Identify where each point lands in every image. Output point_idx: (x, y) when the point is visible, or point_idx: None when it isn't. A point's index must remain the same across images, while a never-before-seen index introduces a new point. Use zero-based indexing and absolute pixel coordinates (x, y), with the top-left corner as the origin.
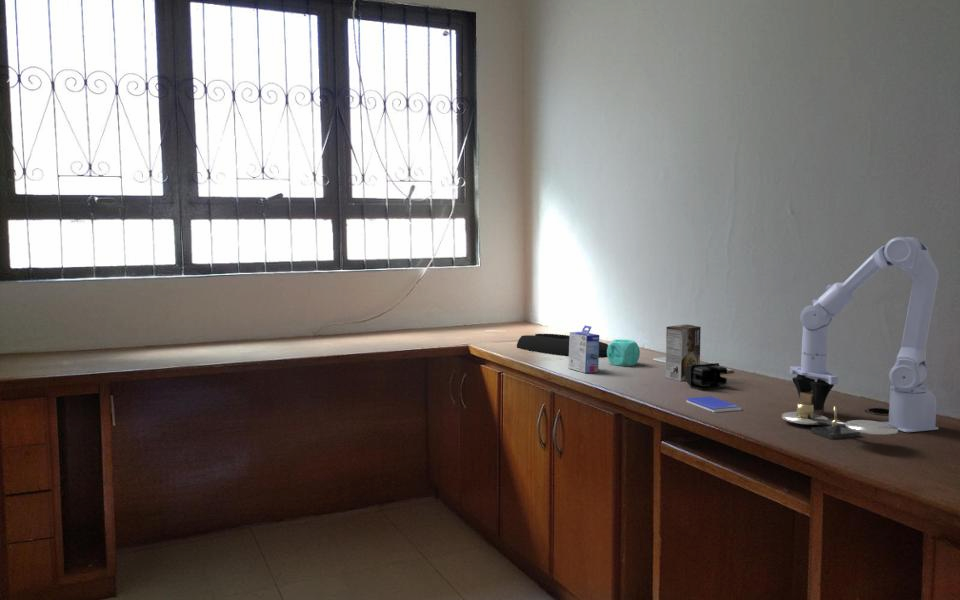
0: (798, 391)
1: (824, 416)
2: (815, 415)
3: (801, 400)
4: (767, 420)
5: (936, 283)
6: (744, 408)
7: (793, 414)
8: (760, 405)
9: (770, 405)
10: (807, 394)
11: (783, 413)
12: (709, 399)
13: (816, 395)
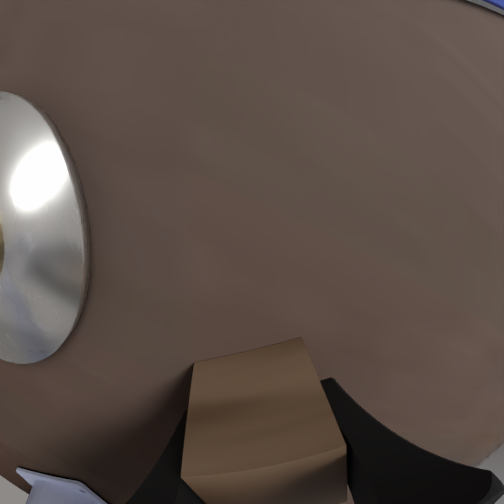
0: (383, 438)
1: (10, 359)
2: (14, 326)
3: (301, 400)
4: (73, 21)
5: None
6: (411, 18)
7: (10, 184)
8: (477, 163)
9: (471, 225)
10: (236, 472)
11: (34, 112)
12: None
13: (136, 491)
